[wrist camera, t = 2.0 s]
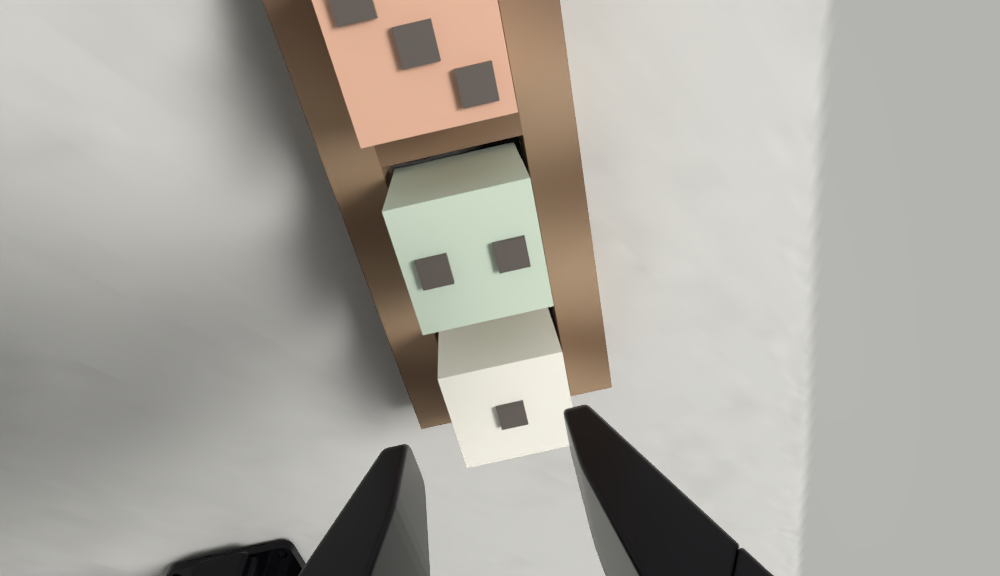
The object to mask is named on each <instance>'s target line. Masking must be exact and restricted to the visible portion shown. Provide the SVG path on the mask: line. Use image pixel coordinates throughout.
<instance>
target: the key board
mask: <svg viewBox="0 0 1000 576" xmlns="http://www.w3.org/2000/svg"><path fill="white" fill-rule="evenodd" d="M262 1H263V4H264V7H265V9H266V12H267V15H268V18H269V20H270V23H271V26H272V28H273V31H274V34H275V36H276V39H277V42H278V44H279V47H280V50H281V52H282V55H283V58H284V61H285V63H286V66H287V69H288V71H289V74H290V77H291V79H292V82H293V85H294V87H295V90H296V93H297V96H298V98H299V101H300V104H301V106H302V109H303V112H304V114H305V117H306V120H307V122H308V125H309V128H310V131H311V133H312V136H313V139H314V141H315V144H316V147H317V149H318V152H319V155H320V157H321V160H322V163H323V165H324V168H325V171H326V174H327V176H328V179H329V182H330V184H331V187H332V190H333V192H334V195H335V198H336V200H337V203H338V206H339V209H340V211H341V214H342V217H343V219H344V222H345V225H346V227H347V230H348V233H349V235H350V238H351V241H352V244H353V246H354V249H355V252H356V254H357V257H358V260H359V262H360V265H361V268H362V270H363V273H364V276H365V278H366V281H367V284H368V287H369V289H370V292H371V295H372V297H373V300H374V303H375V305H376V308H377V311H378V313H379V316H380V319H381V322H382V324H383V327H384V330H385V332H386V335H387V338H388V340H389V343H390V346H391V348H392V351H393V354H394V357H395V359H396V362H397V365H398V367H399V370H400V373H401V375H402V378H403V381H404V383H405V386H406V389H407V391H408V394H409V397H410V400H411V402H412V405H413V408H414V410H415V413H416V416H417V418H418V421H419V424H420V426H421V429H424V428H428V427H433V426H437V425H442V424H446V423H451V422H452V421H451V418H450V415H449V412H448V409H447V406H446V403H445V400H444V397H443V394H442V391H441V388H440V385H439V382H438V337H439V332H435V333H431V334H426V335H423V334H422V331H421V328H420V325H419V322H418V319H417V316H416V313H415V310H414V307H413V304H412V301H411V298H410V295H409V292H408V289H407V286H406V283H405V280H404V277H403V274H402V271H401V268H400V265H399V262H398V259H397V256H396V253H395V250H394V247H393V244H392V241H391V238H390V235H389V232H388V229H387V226H386V223H385V220H384V217H383V214H382V210H383V206H384V203H385V200H386V196H387V193H388V190H389V186H390V183H391V180H392V176H393V170H392V166H391V165H395V164H399V163H404V162H408V161H412V160H417V159H421V158H425V157H430V156H434V155H438V154H443V153H447V152H451V151H456V150H460V149H464V148H469V147H473V146H477V145H482V144H486V143H490V142H495V141H499V140H503V139H508V138H512V137H516V136H519V141H520V146H521V151H522V157H523V162H524V165H525V168H526V170H527V172H528V174H529V176H530V179H531V185H532V190H533V195H534V201H535V206H536V212H537V217H538V223H539V228H540V233H541V239H542V244H543V250H544V255H545V261H546V266H547V271H548V277H549V282H550V288H551V293H552V299H553V304H554V306H552V307H551V311H552V317H553V322H554V327H555V331H556V334H557V337H558V340H559V343H560V346H561V349H562V353H563V358H564V364H565V369H566V375H567V380H568V385H569V391H570V396H574V395H578V394H583V393H587V392H592V391H596V390H601V389H606V388H610V387H612V385H611V378H610V370H609V363H608V355H607V348H606V341H605V333H604V326H603V318H602V311H601V303H600V296H599V289H598V281H597V274H596V266H595V259H594V252H593V244H592V237H591V229H590V222H589V214H588V207H587V200H586V192H585V185H584V177H583V170H582V162H581V155H580V148H579V140H578V133H577V125H576V118H575V111H574V103H573V96H572V88H571V81H570V73H569V66H568V59H567V51H566V44H565V36H564V29H563V22H562V14H561V7H560V0H498V5H499V11H500V16H501V22H502V27H503V33H504V38H505V43H506V49H507V54H508V60H509V65H510V71H511V76H512V81H513V87H514V92H515V98H516V103H517V109H518V112H517V113H513V114H508V115H504V116H500V117H495V118H491V119H487V120H482V121H478V122H474V123H469V124H465V125H461V126H456V127H452V128H448V129H443V130H439V131H435V132H430V133H426V134H422V135H417V136H413V137H409V138H404V139H400V140H396V141H391V142H387V143H383V144H378V145H374V146H370V147H366V148H361V147H360V144H359V141H358V138H357V135H356V132H355V129H354V126H353V123H352V120H351V117H350V114H349V111H348V108H347V105H346V102H345V99H344V96H343V93H342V90H341V87H340V84H339V81H338V78H337V75H336V72H335V69H334V66H333V63H332V60H331V57H330V54H329V51H328V48H327V45H326V42H325V39H324V36H323V33H322V30H321V27H320V24H319V21H318V18H317V15H316V12H315V9H314V6H313V3H312V0H262Z"/></svg>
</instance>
